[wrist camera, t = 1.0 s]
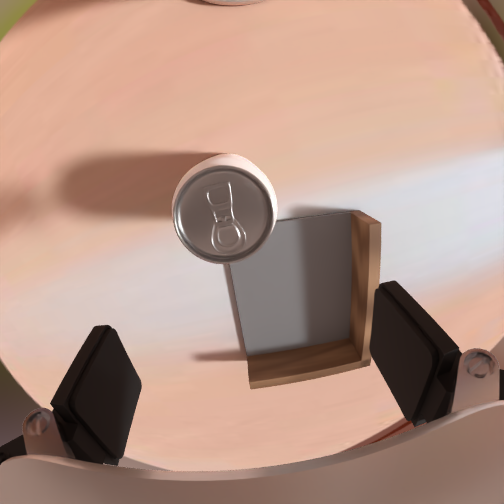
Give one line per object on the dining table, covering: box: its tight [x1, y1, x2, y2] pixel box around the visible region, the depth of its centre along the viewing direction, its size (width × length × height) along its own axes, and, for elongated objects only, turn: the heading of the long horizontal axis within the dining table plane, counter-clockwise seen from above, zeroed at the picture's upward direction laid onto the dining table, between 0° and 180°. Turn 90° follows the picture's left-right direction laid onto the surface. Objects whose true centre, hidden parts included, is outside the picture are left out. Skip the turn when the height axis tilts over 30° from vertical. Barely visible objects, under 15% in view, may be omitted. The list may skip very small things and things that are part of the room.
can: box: [172, 154, 277, 264], centre depth 21 cm, size 6×6×12 cm
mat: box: [230, 212, 352, 356], centre depth 31 cm, size 17×14×1 cm
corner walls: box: [247, 210, 381, 389], centre depth 29 cm, size 17×14×5 cm
